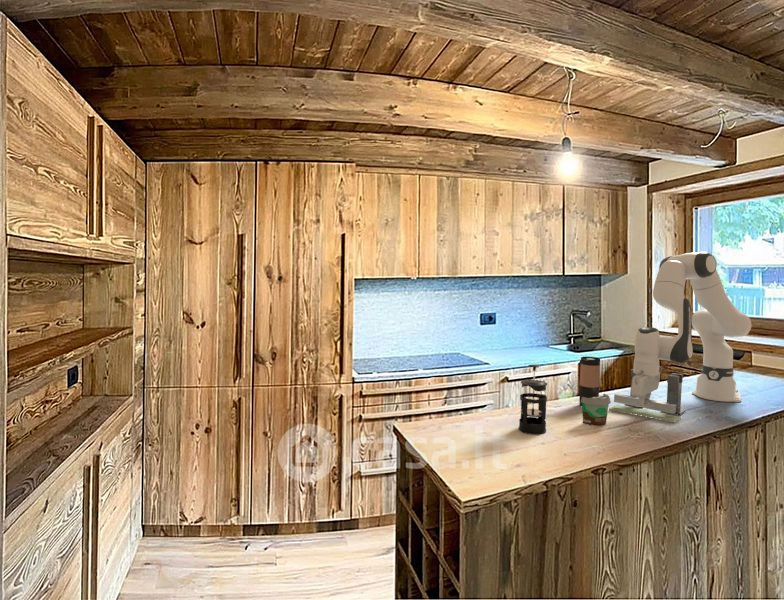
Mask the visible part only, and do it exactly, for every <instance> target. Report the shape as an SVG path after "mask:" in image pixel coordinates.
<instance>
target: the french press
mask: <svg viewBox="0 0 784 600" xmlns="http://www.w3.org/2000/svg"><path fill="white" fill-rule="evenodd" d="M528 367H529V368H532V371H533V378H532V379H523V380H520V384H521V388H524V387H529V388H531V389H532V392H527V393H525V392H524V393H521V394H520V395H519V400H520V402H521V403H520V418H519V420H518V421H519V422H518V423H519V424H518V430H519V432H520V433H521V432H522V433H524V434H528V435H544V434H545V433H547V428H546V427H547V421H546V416H547V401H548V397H547V395H546V394H542V393H535V392H545V391H546V390H547V385H548V383H547V382H546V381H544V380H539V379H538V380H537V379H536V377H535V376H536V375H535V374H536V373H535V372H536V371H537V368H541V365H539V364H528ZM535 398H537V399H535ZM529 403H530V404H532V407H531V408H528V405H529ZM534 404H537V405H538V406H537V407H538V409H536V408H535V407H534Z"/></svg>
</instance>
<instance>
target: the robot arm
mask: <svg viewBox="0 0 784 600" xmlns="http://www.w3.org/2000/svg"><path fill="white" fill-rule="evenodd" d="M687 280H689V282H690V285H691V288H692V291H693V294H694V297H695V300H696V302H697V304H698V305H699V306H701V307H702V308H704V309H699V310H696V311H695V312H693V314H692V305H691V302H690V300H689V299H688V298H686V297H685V288H686V281H687ZM652 297H653V299H654V301H655V302H656V303H657V304H658V305H659V306H661V307H663V308H665V310H666V309H667V310H668V311H671V312H673V313H675V314H677V316H678V317H677V319H678V321H677V322H678V324H677V328H678V329H677V333H678V334H677V335H676V336H672V335H670V336H669V335H662V334H660V332H659V329H658V328H656V327H652V326H651V327H650V326H645V327H639V328H638V329H637V331H636V334H635V338H634V339H635V341H634V348H633V349H634V352H635V353H634V355H635V356H634V358H633V368H632V369H633V372H634V373H635V374H636V376H634V377H633V379H632V386H631V385H630V392H631V395H632V396H636V397H638V398H639V405H641V406H644V405H645V399H650V398H651V395H652V392H654V391H657V390H658V389H659V385H660V377H661V373H662V369H663V368H662V366H660V361H659V360H663V361H670V362H672V363H673V362H674V363H677V364H684V363H686V362H687V361H690V359H692V357H693V353H694V351H693V350H694V348H693V340H692V337H693V336H692V332H693V331H692V328H693V329H694V330H695V331H696V332H697V333H698V336H699V338H700V340H701V343H702V349H703V355H702V357H703V358H702V359H703V362H702V365H701V368H700V369H701V372H700V373H701V374H700V375H698V376H697V377H696V378H697V380H696V385H695V386H696V387H695V390H694V391H691V394H692V395H694V396H696V397H698V398H701V399H703V400H704V399H705V400H708V401H709V400H710V401H715V402H726V403H727V402H728V403H729V402H735V403H737V402H738V403H739V402H742V394H741V393H740V392H738V389H736V387H737V382H736V380H735V378H734V374H735V373H734V372H735V371H734V367H733V366H734V365H733V362H734V350H733V348H732V347H731V346H730V345H729V344H728V343H727V341H726V338H725V337H728V338H742V337H746V336H747V335H748V334H749V333H750V331H751V329H752V320H751V318H750V317H749V316H748V315H747V314H745V313H743V312H742V311H740V309H738V308H737V307H736V306H735V305H734V303H732V301H731V300H730V298H729V296H728V295H727V293H726V290H725V288H724V286H723V283H722V280H721V277H720V275H719V272H718V269H717V260H716V257H715V256H714V255H713V254H712V253H710V252H707V251H699V252H685V253H683V254H677V255H670V256H667V257H664V258H663V259H662V260H661V261H660V264H659V266H658V271H657V274H656V277H655V280H654V285H653V289H652ZM650 400H651V399H650Z"/></svg>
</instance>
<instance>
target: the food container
mask: <svg viewBox="0 0 784 600" xmlns="http://www.w3.org/2000/svg"><path fill="white" fill-rule="evenodd" d="M611 402H612V401H611V397H610V395H609V394H606V393H603V394H602V396H600V395H599V397H590V398H585V397H582V399H581V403H582V407H581V409H582V413H581V414H582V424H584V425H587V424H588V425H587V426H593V425H594V426H597V427H600V426H602V425H603V426H605V425H606V424H607V418H608V413H609V412H608V411H609V405H610V404H611Z"/></svg>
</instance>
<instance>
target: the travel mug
mask: <svg viewBox="0 0 784 600" xmlns="http://www.w3.org/2000/svg"><path fill="white" fill-rule="evenodd" d="M579 368H580V370H579V371H580V372H579V373H580V374H579V400H578V401H579V406H580V407H581V406H582V403H581V399H582V397H585V398H590V397H600V386H601V385H600V383H601V381H600V380H601V358H600V357H596V356H582V357H580V367H579Z"/></svg>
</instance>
